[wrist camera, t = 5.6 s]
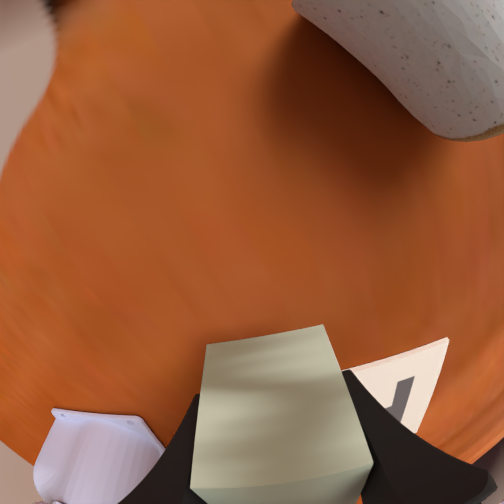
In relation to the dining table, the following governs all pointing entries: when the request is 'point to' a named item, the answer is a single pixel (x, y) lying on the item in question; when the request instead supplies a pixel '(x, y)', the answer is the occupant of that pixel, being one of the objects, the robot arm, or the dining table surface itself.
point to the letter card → (405, 381)
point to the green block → (277, 424)
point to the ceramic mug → (427, 56)
